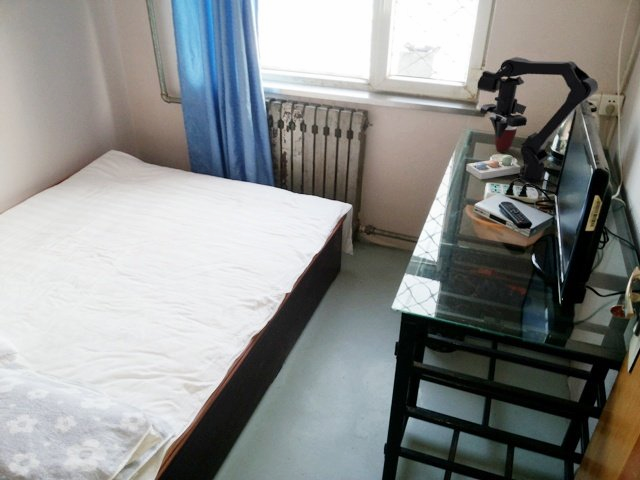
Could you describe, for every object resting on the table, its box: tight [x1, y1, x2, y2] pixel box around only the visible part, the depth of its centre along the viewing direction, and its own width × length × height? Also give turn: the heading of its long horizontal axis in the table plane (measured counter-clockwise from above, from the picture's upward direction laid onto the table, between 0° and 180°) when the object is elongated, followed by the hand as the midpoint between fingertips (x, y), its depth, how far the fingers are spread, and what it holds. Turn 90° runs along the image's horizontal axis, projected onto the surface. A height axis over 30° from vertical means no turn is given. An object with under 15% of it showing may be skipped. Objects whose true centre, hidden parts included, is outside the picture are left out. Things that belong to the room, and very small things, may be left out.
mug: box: [494, 125, 518, 153], centre depth 209 cm, size 10×8×10 cm
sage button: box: [501, 154, 513, 166], centre depth 192 cm, size 4×4×3 cm
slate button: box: [476, 161, 487, 170], centre depth 189 cm, size 4×4×3 cm
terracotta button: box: [488, 159, 499, 168], centre depth 191 cm, size 4×4×3 cm
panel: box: [465, 159, 521, 180], centre depth 192 cm, size 9×17×2 cm, turn 110°
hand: (498, 137), depth 190 cm, fingers closed
